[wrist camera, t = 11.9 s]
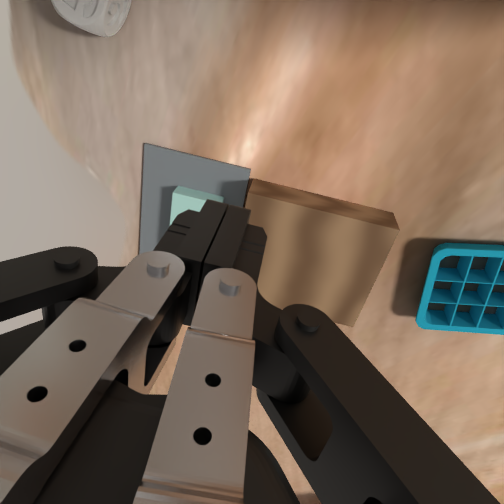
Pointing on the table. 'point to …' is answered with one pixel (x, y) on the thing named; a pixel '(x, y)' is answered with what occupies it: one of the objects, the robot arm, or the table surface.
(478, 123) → the table surface
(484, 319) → the ice cube tray
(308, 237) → the brown wooden flat block
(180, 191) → the mint green block
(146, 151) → the mat
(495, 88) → the table surface
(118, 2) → the die
